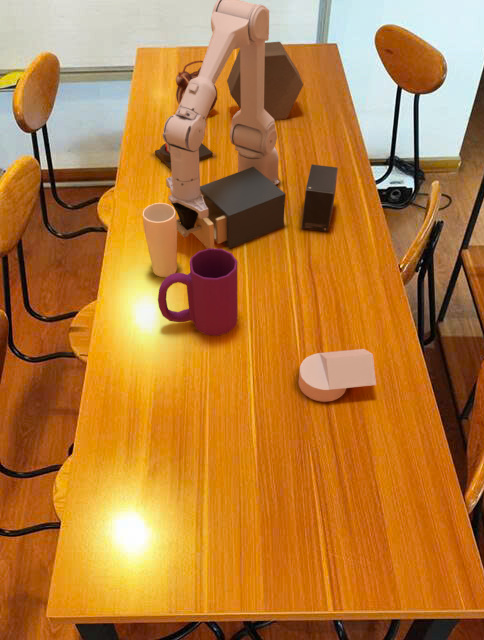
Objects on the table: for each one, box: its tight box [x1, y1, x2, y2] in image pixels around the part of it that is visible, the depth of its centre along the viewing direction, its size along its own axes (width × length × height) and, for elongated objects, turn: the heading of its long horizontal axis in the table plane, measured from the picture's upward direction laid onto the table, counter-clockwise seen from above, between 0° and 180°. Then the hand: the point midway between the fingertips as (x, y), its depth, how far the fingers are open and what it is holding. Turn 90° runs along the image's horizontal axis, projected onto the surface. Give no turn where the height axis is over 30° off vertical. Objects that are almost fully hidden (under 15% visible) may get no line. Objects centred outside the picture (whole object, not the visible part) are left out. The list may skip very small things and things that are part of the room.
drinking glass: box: [142, 202, 178, 278], centre depth 143 cm, size 7×7×15 cm
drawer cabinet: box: [200, 167, 286, 250], centre depth 156 cm, size 15×13×9 cm
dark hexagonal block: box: [226, 41, 304, 121], centre depth 184 cm, size 17×8×21 cm
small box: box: [301, 163, 339, 232], centre depth 156 cm, size 11×6×10 cm, turn 168°
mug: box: [157, 247, 239, 337], centre depth 133 cm, size 9×16×15 cm, turn 99°
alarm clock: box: [175, 60, 218, 116], centre depth 184 cm, size 11×5×15 cm, turn 115°
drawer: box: [176, 194, 227, 249], centre depth 154 cm, size 18×12×7 cm, turn 122°
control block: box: [154, 142, 213, 170], centre depth 177 cm, size 12×9×3 cm
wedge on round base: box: [298, 348, 377, 403], centre depth 126 cm, size 9×7×13 cm
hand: (188, 229), depth 152 cm, fingers closed, pressing on drawer
